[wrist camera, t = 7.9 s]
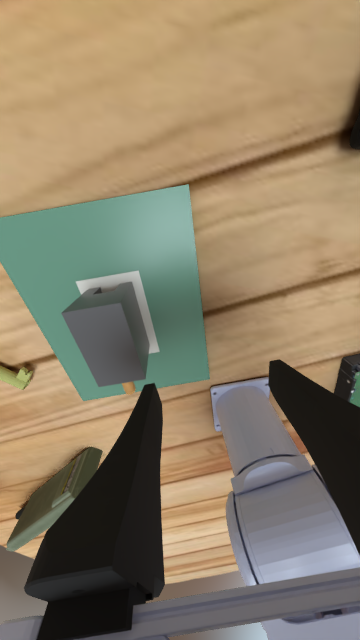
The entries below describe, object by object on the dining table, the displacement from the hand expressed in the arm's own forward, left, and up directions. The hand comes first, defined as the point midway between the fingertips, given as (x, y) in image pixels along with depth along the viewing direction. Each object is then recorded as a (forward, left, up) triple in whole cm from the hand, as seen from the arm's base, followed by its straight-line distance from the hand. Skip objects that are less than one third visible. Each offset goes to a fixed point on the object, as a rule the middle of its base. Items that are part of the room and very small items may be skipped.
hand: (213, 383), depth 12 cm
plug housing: (0, +7, -8) cm, 11 cm away
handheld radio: (-28, +28, -10) cm, 40 cm away
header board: (+1, +7, -9) cm, 12 cm away
